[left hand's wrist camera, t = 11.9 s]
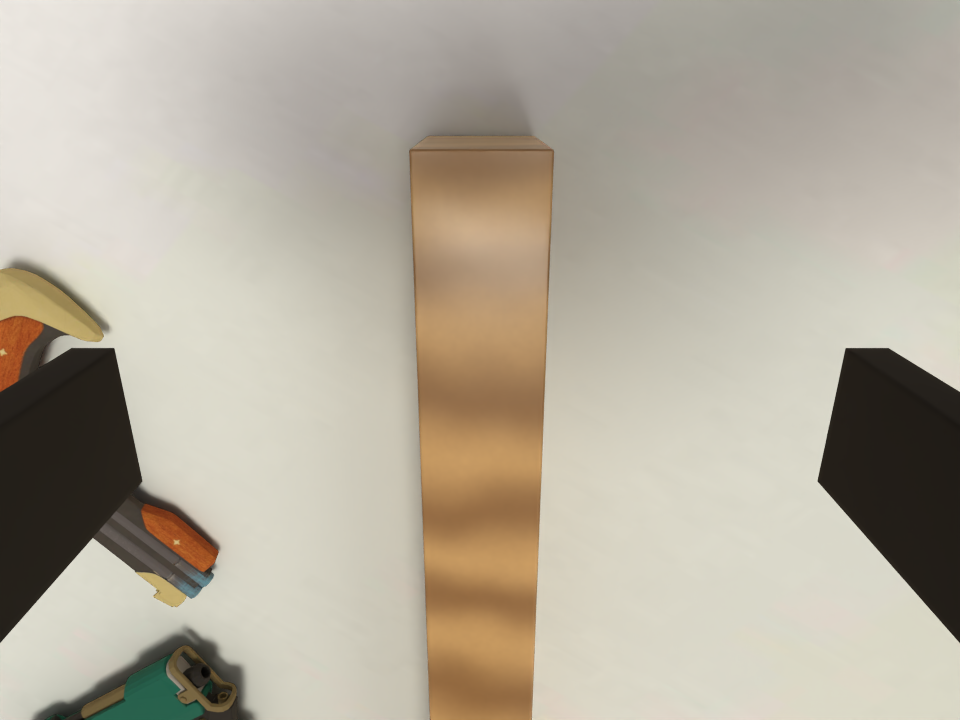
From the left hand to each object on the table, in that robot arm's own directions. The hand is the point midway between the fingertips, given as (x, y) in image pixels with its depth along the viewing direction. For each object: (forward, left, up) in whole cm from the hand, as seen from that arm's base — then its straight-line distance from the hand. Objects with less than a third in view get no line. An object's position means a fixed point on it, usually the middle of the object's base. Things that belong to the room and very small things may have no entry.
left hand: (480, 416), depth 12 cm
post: (+3, +32, -22) cm, 39 cm away
